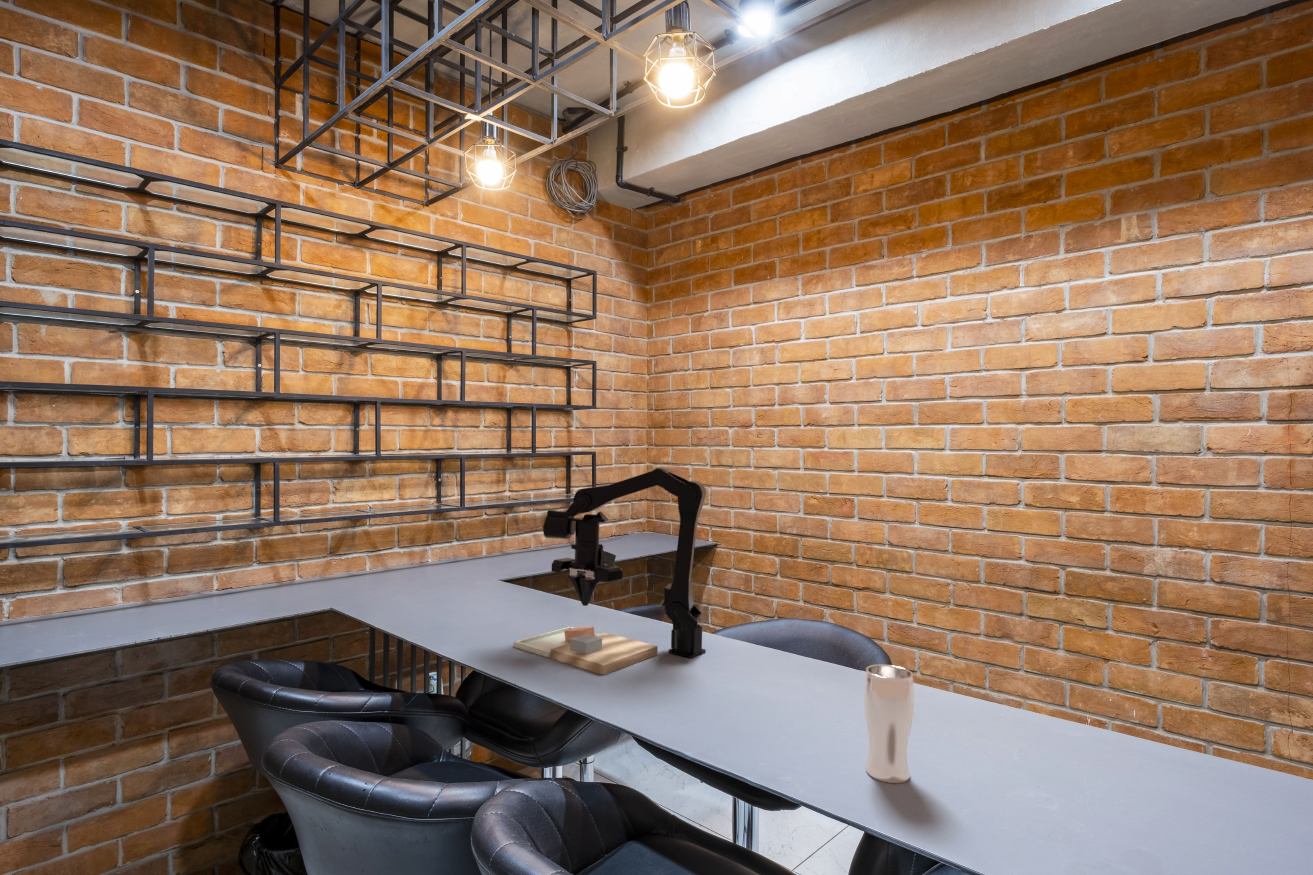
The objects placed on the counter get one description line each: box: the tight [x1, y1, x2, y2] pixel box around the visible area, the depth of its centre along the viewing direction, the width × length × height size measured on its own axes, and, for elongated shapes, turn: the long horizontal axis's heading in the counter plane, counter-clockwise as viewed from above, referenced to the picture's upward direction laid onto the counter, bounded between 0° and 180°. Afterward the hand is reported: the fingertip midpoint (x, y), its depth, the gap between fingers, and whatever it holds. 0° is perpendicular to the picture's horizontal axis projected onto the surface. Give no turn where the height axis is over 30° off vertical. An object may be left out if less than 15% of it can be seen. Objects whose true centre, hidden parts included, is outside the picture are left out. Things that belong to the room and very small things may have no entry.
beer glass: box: [863, 663, 915, 784], centre depth 99 cm, size 7×7×15 cm
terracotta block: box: [564, 626, 595, 642], centre depth 160 cm, size 5×5×2 cm
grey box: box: [570, 634, 602, 655], centre depth 148 cm, size 5×5×2 cm
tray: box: [513, 626, 601, 659], centre depth 159 cm, size 12×18×1 cm, turn 142°
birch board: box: [550, 632, 658, 676], centre depth 150 cm, size 16×18×2 cm
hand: (585, 605), depth 160 cm, fingers closed
